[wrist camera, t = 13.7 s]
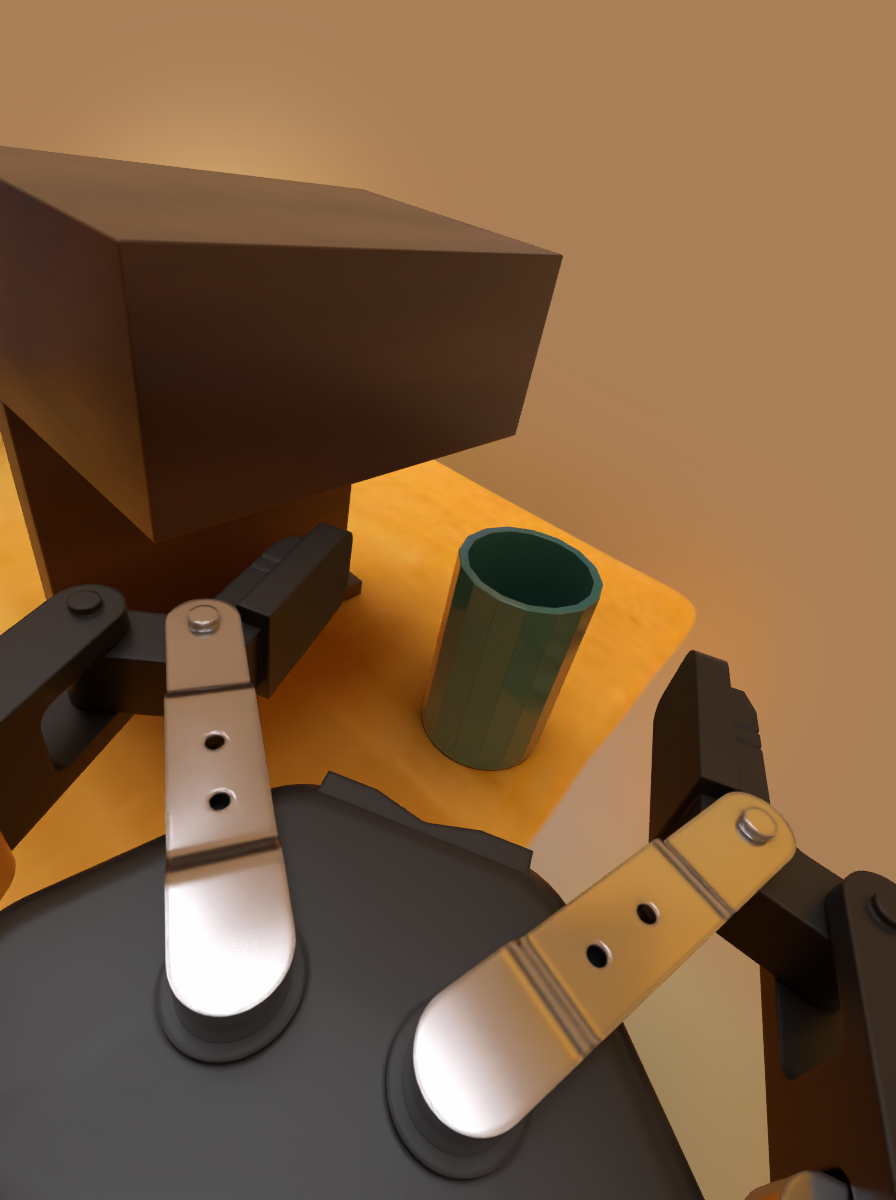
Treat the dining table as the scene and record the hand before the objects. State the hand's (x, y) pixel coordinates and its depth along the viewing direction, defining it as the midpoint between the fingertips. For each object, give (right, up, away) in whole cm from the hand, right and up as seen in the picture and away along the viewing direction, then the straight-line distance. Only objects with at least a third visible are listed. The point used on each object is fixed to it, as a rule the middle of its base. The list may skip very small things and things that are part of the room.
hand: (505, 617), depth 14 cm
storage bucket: (0, -6, +18) cm, 19 cm away
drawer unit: (-10, -3, +18) cm, 21 cm away
